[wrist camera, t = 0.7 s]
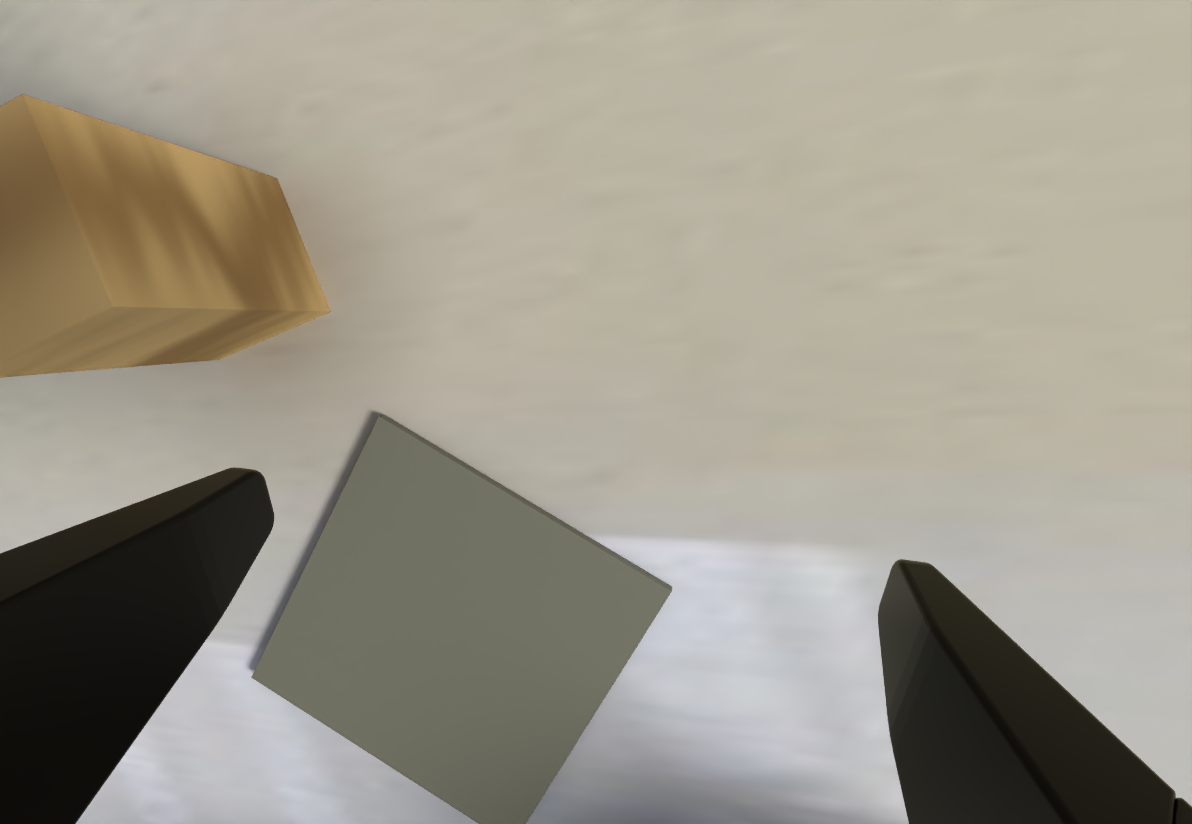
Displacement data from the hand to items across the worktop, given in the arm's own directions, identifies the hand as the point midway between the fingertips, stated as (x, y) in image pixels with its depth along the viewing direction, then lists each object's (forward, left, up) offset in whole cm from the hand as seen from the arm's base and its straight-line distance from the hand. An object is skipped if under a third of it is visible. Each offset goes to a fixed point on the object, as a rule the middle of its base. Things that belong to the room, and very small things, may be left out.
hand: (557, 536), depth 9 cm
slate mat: (-11, +2, -14) cm, 18 cm away
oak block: (-3, +15, -14) cm, 20 cm away
